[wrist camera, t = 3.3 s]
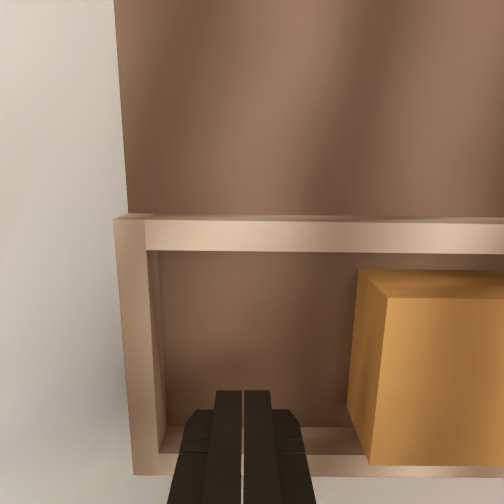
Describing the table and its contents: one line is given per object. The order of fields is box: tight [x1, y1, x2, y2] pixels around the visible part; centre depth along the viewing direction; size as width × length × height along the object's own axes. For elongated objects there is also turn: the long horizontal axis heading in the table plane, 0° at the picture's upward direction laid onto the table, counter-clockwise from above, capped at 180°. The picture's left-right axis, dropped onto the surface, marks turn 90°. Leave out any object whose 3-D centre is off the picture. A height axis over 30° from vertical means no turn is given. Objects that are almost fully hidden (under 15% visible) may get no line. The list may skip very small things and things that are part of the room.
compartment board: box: [113, 0, 504, 478], centre depth 14 cm, size 24×17×4 cm
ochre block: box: [347, 269, 504, 466], centre depth 13 cm, size 6×6×3 cm
